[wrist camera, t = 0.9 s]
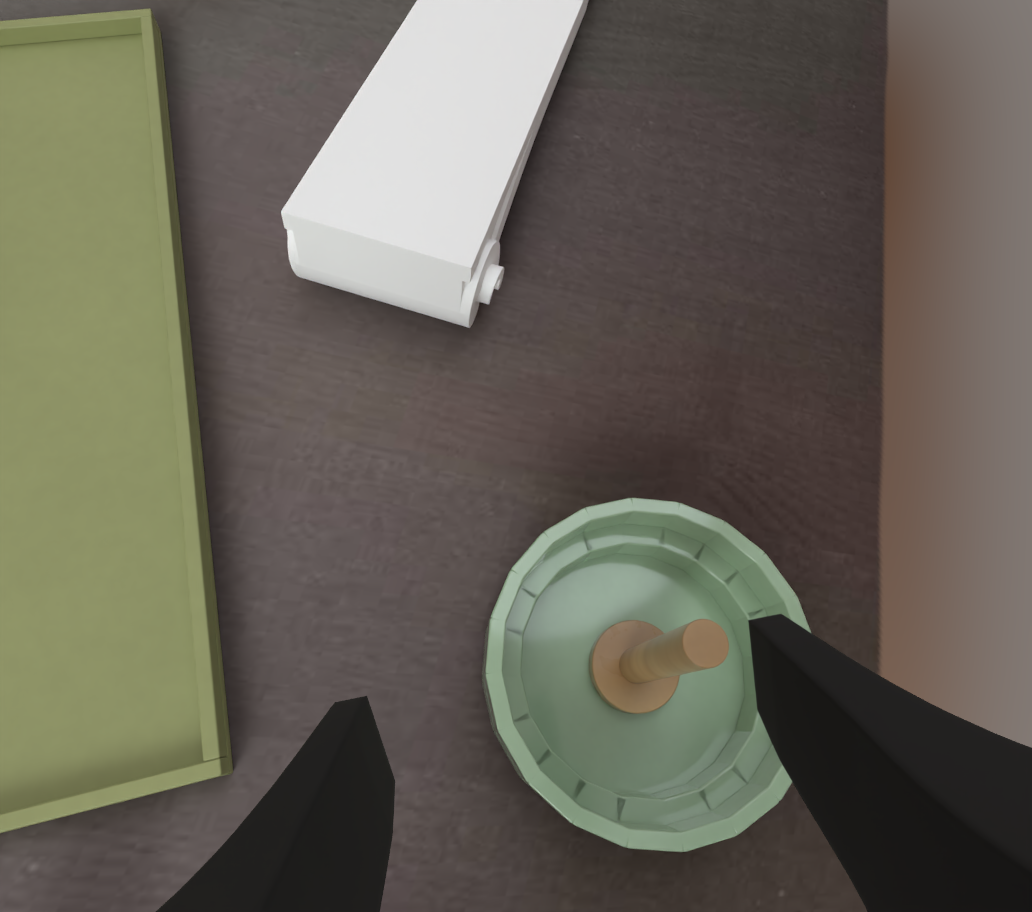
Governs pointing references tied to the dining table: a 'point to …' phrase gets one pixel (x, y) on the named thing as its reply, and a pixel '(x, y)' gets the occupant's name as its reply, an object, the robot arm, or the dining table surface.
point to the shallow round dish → (647, 736)
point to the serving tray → (98, 434)
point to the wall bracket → (432, 156)
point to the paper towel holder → (651, 661)
